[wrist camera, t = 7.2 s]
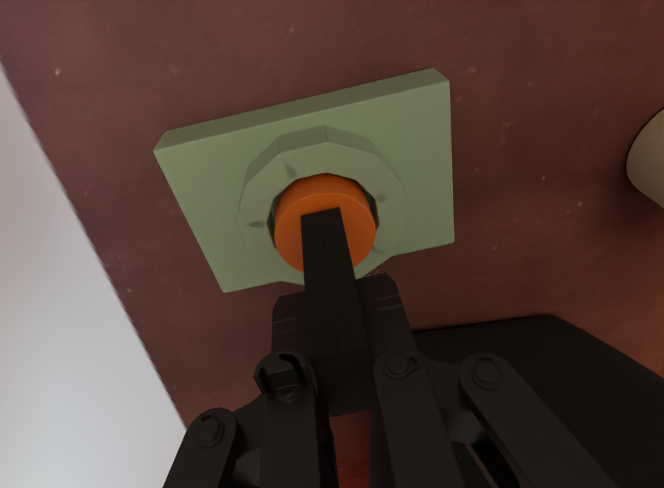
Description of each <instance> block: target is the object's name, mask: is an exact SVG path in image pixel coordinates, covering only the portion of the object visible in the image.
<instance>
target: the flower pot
mask: <svg viewBox="0 0 664 488" xmlns="http://www.w3.org/2000/svg"><path fill="white" fill-rule="evenodd" d="M412 335H413V338H414V341H415V344H416V346H417V348H418V349H419V350H420V351H421V352H422V353H423V354H424V355H425V356H427V357H428V358H431V359H433V360H436V361H440V362H446V363H458V364H461V363H462V361H463V360H464V359H465V358H467V357H468V356H470V355H472V354H476V353H492V354H495V355H497V356H500V357H502V358H504V359H505V360H506V361H507V362H509V363H510V364H511V365H512V366H513V367H514V368H515V369H516V371H517V372H518V373H519V374H520V375H521V376H522V377H523V379H524V380H525V381H526V382H527V383H528V384H529V385H530V386H531V388H532V389H533V390H534V391H535V392H536V393H537V394H538V396H539V397H540V398H541V399H542V400H543V401H544V402H545V403H546V405H547V406H548V407H549V408H550V409H551V410H552V411H553V413H554V414H555V415H556V416H557V417H558V418H559V419H560V420H561V422H562V423H563V424H564V425H565V426H566V427H567V428H568V430H569V431H570V432H571V433H572V434H573V435H574V436H575V437H576V439H577V440H578V441H579V442H580V443H581V444H582V445H583V446H584V448H585V449H586V450H587V451H588V452H589V453H590V454H591V456H592V457H593V458H594V459H595V460H596V461H597V462H598V463H599V465H600V466H601V467H602V468H603V469H604V470H605V471H606V473H607V474H608V475H609V476H610V477H611V478H612V479H613V480H614V482H615V483H616V484H617V485H618V486H619V487H620V488H664V378H662V377H661V376H659V375H657V374H656V373H654V372H653V371H651V370H649V369H648V368H646V367H645V366H643V365H642V364H640V363H638V362H637V361H635V360H633V359H632V358H630V357H628V356H627V355H625V354H623V353H622V352H620V351H618V350H617V349H615V348H613V347H612V346H610V345H608V344H607V343H605V342H603V341H601V340H600V339H598V338H596V337H594V336H593V335H591V334H589V333H587V332H586V331H584V330H582V329H580V328H578V327H576V326H574V325H573V324H571V323H569V322H567V321H565V320H563V319H561V318H559V317H556V316H553V315H546V316H539V317H532V318H525V319H518V320H510V321H502V322H494V323H486V324H479V325H473V326H465V327H457V328H450V329H443V330H435V331H428V332H421V333H414V334H412ZM450 442H451V445H452V448H453V451H454V454H455V457H456V460H457V463H458V466H459V469H460V472H461V475H462V478H463V481H464V484H465V487H466V488H492V487H491V485H490V483H489V482H488V480H487V479H486V477H485V476H484V474H483V472H482V471H481V469H480V468H479V466H478V464H477V463H476V461H475V460H474V458H473V457H472V455H471V453H470V452H469V450H468V449H467V447H466V446H465V444H464V443H459V442H452V441H450ZM369 488H396V485H395V480H394V475H393V470H392V465H391V460H390V455H389V450H388V445H387V440H386V435H385V431H384V426H383V421H382V416H381V411H380V407H378V408H373V409H370V430H369Z"/></svg>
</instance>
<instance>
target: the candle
mask: <svg viewBox="0 0 664 488" xmlns="http://www.w3.org/2000/svg"><path fill="white" fill-rule="evenodd" d="M627 175H628V178H629V180H630V181H631V183H632V184H633V185H634V186H635V187H636V188H637V189H638V190H639V191H641V192H642V193H643V194H645V195H646V196H647V197H649V198H650V199H652V200H653V201H655V202H656V203H657V204H659V205H660V206H662V207H663V208H664V109H663V110H662V111H660V112H659V113H658V114H657V115H656V116H655V117H653V118H652V119H651V120H650V121H649V122H648V123H647V125H646V126H645V127H644V128H643V129H642V131H641V132H640V133H639V135H638V136H637V138H636V139H635V141H634V143H633V145H632V147H631V149H630V152H629V155H628V159H627Z"/></svg>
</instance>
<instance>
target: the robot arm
mask: <svg viewBox="0 0 664 488" xmlns="http://www.w3.org/2000/svg"><path fill="white" fill-rule="evenodd" d="M300 219H301V236H302V253H303V270H304V287H305V291H304V292H299V293H295V294H290V295H285V296H281V297H279V298H278V300H277V302H276V304H275V306H274V308H273V317H272V323H273V325H272V349H271V353H270V354H268V355H267V356H266V357H264V358H263V359H262V360H261V361H260V363H259V364H258V365H257V367H256V369H255V372H254V376H253V377H254V379H255V381H256V383H257V385H258V387H259V388H260V390H261V392H262V394H261V395H260V396H259V397H258V398H256V399H255V400H254V401H252V402H250V403H249V404H247V405H245V406H243V407H241V408H239V409H238V410H236V411H234V412H232V413H231V412H230V411H229V410H228V409H224V408H220V407H219V408H213V409H209V410H207V411H205V412H204V413H202V414H200V415H199V416H198V417H197V418H196V419H195V420H194V421H193V422H192V423H191V425H190V426H189V428H188V430H187V431H186V434H185V436H184V438H183V441H182V443H181V445H180V448H179V450H178V452H177V455H176V457H175V460H174V462H173V464H172V467H171V469H170V471H169V474H168V476H167V478H166V481H165V483H164V486H163V488H339V484H338V474H337V464H336V455H335V445H334V437H333V433H332V430H331V428H330V422H329V413H330V416H331V417H334V416H339V415H344V414H349V413H353V412H359V411H363V410H368V409H373V408H378V407H380V411H381V416H382V421H383V426H384V431H385V435H386V440H387V445H388V450H389V455H390V460H391V465H392V470H393V475H394V480H395V485H396V488H466V487H465V484H464V481H463V478H462V475H461V472H460V469H459V466H458V463H457V460H456V457H455V454H454V451H453V448H452V445H451V442H450V441H452V442H459V443H464V444H465V446H466V447H467V449H468V450H469V452H470V453H471V455H472V457H473V458H474V460H475V461H476V463H477V464H478V466H479V468H480V469H481V471H482V472H483V474H484V476H485V477H486V479H487V480H488V482H489V483H490V485H491V487H492V488H620V487H619V486H618V485H617V484H616V483H615V482H614V480H613V479H612V478H611V477H610V476H609V475H608V474H607V473H606V471H605V470H604V469H603V468H602V467H601V466H600V465H599V463H598V462H597V461H596V460H595V459H594V458H593V457H592V456H591V454H590V453H589V452H588V451H587V450H586V449H585V448H584V446H583V445H582V444H581V443H580V442H579V441H578V440H577V439H576V437H575V436H574V435H573V434H572V433H571V432H570V431H569V430H568V428H567V427H566V426H565V425H564V424H563V423H562V422H561V420H560V419H559V418H558V417H557V416H556V415H555V414H554V413H553V411H552V410H551V409H550V408H549V407H548V406H547V405H546V403H545V402H544V401H543V400H542V399H541V398H540V397H539V396H538V394H537V393H536V392H535V391H534V390H533V389H532V388H531V386H530V385H529V384H528V383H527V382H526V381H525V380H524V379H523V377H522V376H521V375H520V374H519V373H518V372H517V371H516V369H515V368H514V367H513V366H512V365H511V364H510V363H509V362H507V361H506V360H505V359H504V358H502V357H500V356H497V355H495V354H492V353H476V354H472V355H470V356H468V357H467V358H465V359H464V360H463V361H462V363H461V364H458V363H446V362H440V361H436V360H433V359H431V358H428V357H427V356H425V355H424V354H423V353H422V352H421V351H420V350H419V349H418V348H417V346H416V344H415V341H414V338H413V335H412V332H411V329H410V326H409V323H408V320H407V317H406V314H405V311H404V308H403V305H402V302H401V298H400V296H399V292H398V289H397V286H396V283H395V282H394V281H393V280H392V279H391V278H390V277H389V276H388V275H387V274H386V273H383V274H378V275H374V276H369V277H364V278H360V279H356V278H355V273H354V269H353V264H352V259H351V255H350V251H349V246H348V242H347V237H346V233H345V228H344V224H343V219H342V215H341V211H340V207H337V208H332V209H328V210H324V211H319V212H315V213H310V214H306V215H301V216H300ZM328 411H329V412H328Z"/></svg>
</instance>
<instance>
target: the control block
mask: <svg viewBox="0 0 664 488" xmlns="http://www.w3.org/2000/svg"><path fill="white" fill-rule="evenodd" d="M153 153H154V155H155V157H156V159H157V161H158V163H159V165H160V167H161V169H162V171H163V173H164V175H165V177H166V179H167V181H168V183H169V185H170V187H171V189H172V191H173V193H174V195H175V197H176V199H177V201H178V203H179V205H180V207H181V209H182V211H183V213H184V215H185V217H186V219H187V221H188V223H189V225H190V227H191V229H192V231H193V233H194V235H195V237H196V239H197V241H198V243H199V245H200V247H201V249H202V251H203V253H204V255H205V257H206V259H207V261H208V263H209V265H210V267H211V269H212V271H213V273H214V275H215V277H216V279H217V281H218V283H219V285H220V287H221V289H222V291H223V293H227V292H232V291H236V290H241V289H246V288H250V287H255V286H259V285H264V284H268V283H273V282H277V281H283V282H288V283H294V284H299V285H304V273H303V272H300V271H298V270H296V269H294V268H293V267H291V266H290V265H289V264H288V263H286V262H285V260H284V259H283V258H282V257H281V255H280V254H279V252H278V250H277V248H276V244H275V209H276V205H277V202H278V199H279V197H280V195H281V194H282V192H283V191H284V190H285V189H286V188H287V187H288V186H289V185H290V184H291V183H292V182H294V181H295V180H297V179H299V178H303V177H308V176H312V175H317V174H321V173H325V172H327V173H331V174H335V175H339V176H343V177H346V178H349V179H351V180H352V181H354V182H355V183H356V184H357V185H358V186H359V187H360V188H361V189H362V191H363V192H364V194H365V196H366V198H367V201H368V204H369V207H370V210H371V213H372V216H373V219H374V223H375V229H376V234H375V240H374V243H373V246H372V248H371V250H370V252H369V253H368V255H367V256H366V257H365V258H364V259H363V260H362V261H361V262H360V263H359V264H358V265H356V266H355V267H353V269H354V273H355V278H356V279H360V278H362V277H364V276H365V275H366V274H368V273H369V272H370V271H372V270H373V269H375V268H376V267H377V266H379V265H380V264H382V263H383V262H384V261H386V260H387V259H389V258H390V257H391V256H396V255H400V254H405V253H409V252H414V251H418V250H423V249H428V248H432V247H437V246H441V245H446V244H450V243H454V213H453V179H452V146H451V112H450V82H449V80H448V79H446V78H445V77H444V76H443V75H442V74H440V73H439V72H438V71H437V70H435V69H434V68H428V69H424V70H420V71H416V72H412V73H407V74H403V75H399V76H395V77H391V78H386V79H382V80H378V81H374V82H370V83H365V84H361V85H357V86H353V87H349V88H344V89H340V90H336V91H332V92H328V93H323V94H319V95H315V96H311V97H307V98H303V99H298V100H294V101H290V102H286V103H282V104H277V105H273V106H269V107H265V108H261V109H256V110H252V111H248V112H244V113H240V114H235V115H231V116H227V117H223V118H219V119H214V120H210V121H206V122H202V123H198V124H193V125H189V126H185V127H181V128H177V129H172V130H168V131H165V132H164V134H163V135H162V137H161V139H160V140H159V142H158V143H157V145H156V146H155V148H154V150H153Z"/></svg>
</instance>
